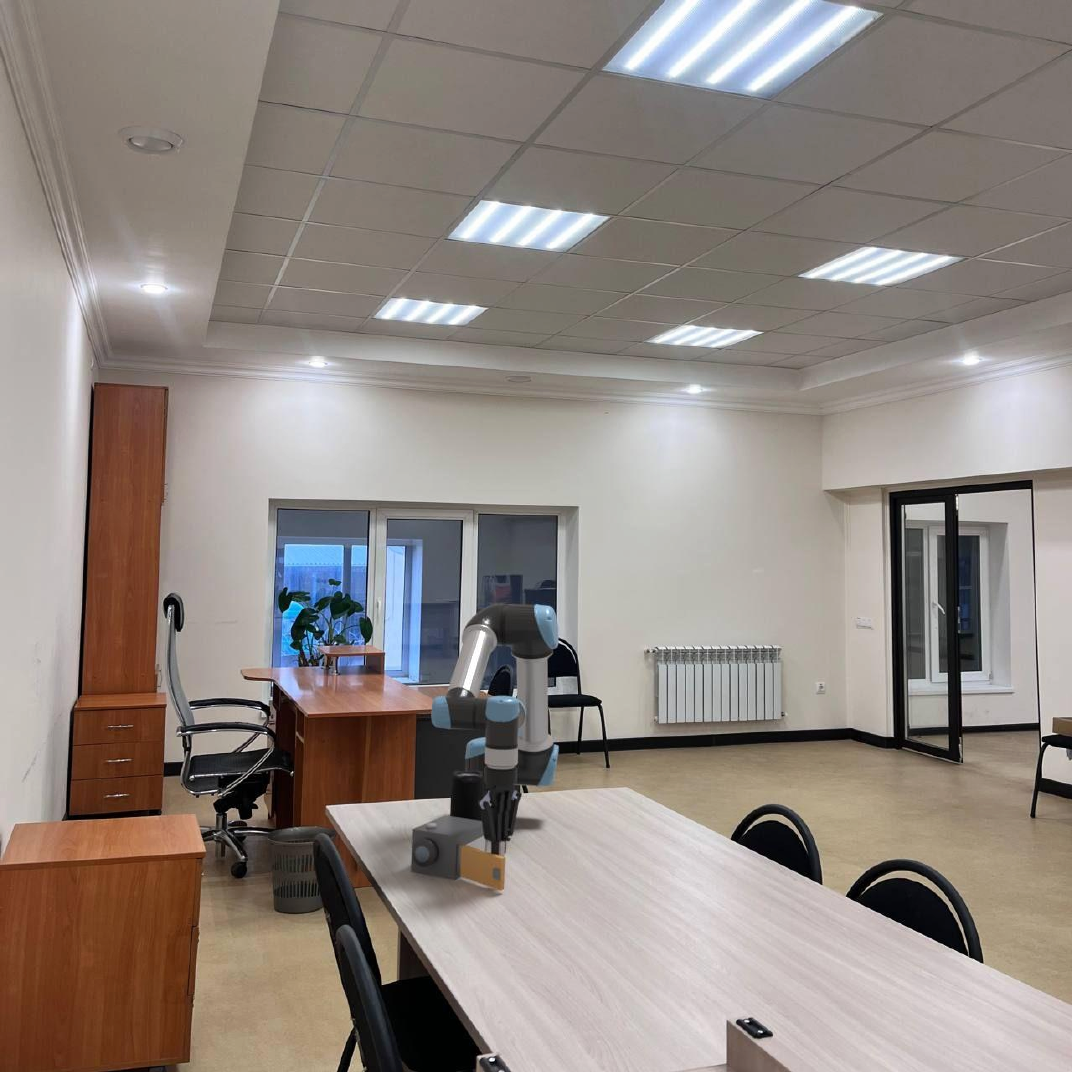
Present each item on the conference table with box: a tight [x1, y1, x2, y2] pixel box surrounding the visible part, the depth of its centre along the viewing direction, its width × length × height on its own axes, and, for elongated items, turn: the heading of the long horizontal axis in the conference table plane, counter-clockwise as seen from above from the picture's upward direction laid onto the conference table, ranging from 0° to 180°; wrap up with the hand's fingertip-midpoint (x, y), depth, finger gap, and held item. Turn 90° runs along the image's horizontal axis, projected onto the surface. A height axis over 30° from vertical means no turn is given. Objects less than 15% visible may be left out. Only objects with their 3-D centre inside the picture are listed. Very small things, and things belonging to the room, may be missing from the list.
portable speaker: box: [449, 770, 484, 821], centre depth 249 cm, size 9×9×20 cm
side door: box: [458, 844, 506, 891], centre depth 220 cm, size 14×2×7 cm, turn 48°
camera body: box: [410, 814, 488, 881], centre depth 232 cm, size 18×12×11 cm
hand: (497, 869), depth 220 cm, fingers closed
